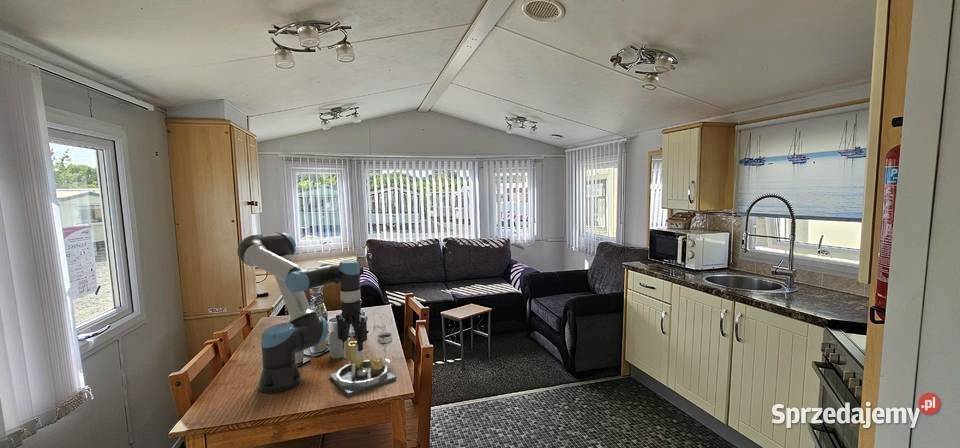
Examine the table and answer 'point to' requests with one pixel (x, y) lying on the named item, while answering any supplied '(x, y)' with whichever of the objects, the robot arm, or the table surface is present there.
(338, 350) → the mug
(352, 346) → the yellow hollow cylinder
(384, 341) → the wineglass
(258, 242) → the robot arm
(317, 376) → the table surface
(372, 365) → the carrier
